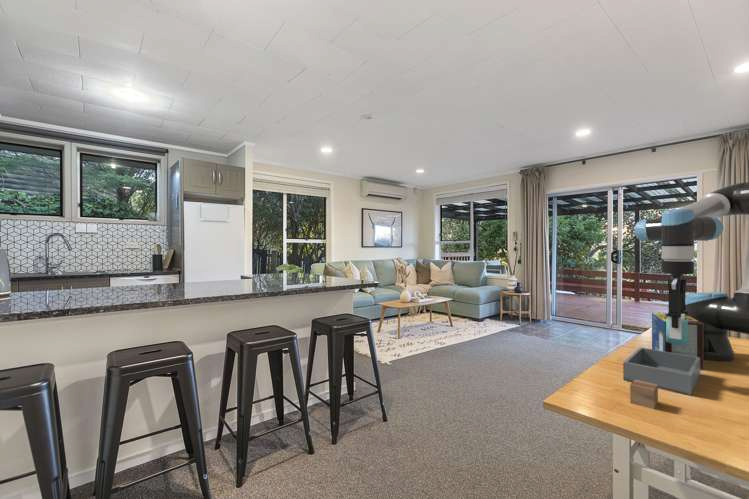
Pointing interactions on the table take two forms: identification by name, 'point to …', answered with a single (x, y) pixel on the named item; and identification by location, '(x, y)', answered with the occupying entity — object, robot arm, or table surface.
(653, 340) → the protein box
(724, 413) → the table surface
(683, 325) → the teal cylinder
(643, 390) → the walnut cube
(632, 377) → the tote
